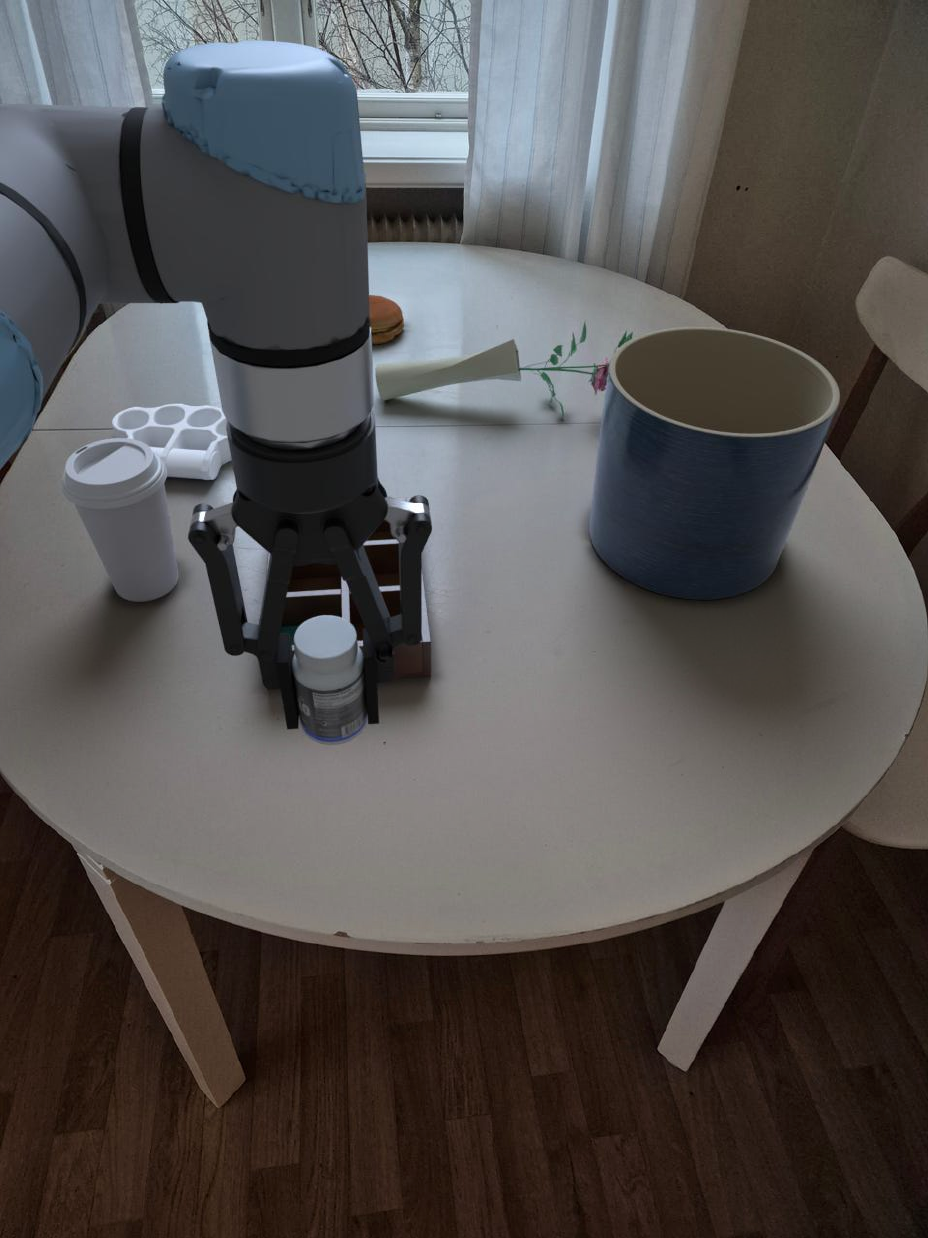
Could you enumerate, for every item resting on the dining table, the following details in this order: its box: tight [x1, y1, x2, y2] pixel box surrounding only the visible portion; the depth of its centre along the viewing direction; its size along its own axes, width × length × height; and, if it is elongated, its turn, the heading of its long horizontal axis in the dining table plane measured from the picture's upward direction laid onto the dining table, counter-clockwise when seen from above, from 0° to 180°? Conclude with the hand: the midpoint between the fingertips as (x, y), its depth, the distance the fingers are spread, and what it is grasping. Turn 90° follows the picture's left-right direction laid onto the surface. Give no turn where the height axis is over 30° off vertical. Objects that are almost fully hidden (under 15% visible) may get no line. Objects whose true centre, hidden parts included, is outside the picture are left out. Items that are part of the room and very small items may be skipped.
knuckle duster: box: [111, 402, 232, 481], centre depth 108 cm, size 3×18×15 cm
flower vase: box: [374, 321, 634, 421], centre depth 116 cm, size 12×12×35 cm
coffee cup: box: [61, 437, 180, 603], centre depth 86 cm, size 10×10×15 cm
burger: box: [369, 294, 405, 345], centre depth 133 cm, size 10×9×5 cm
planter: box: [588, 326, 841, 601], centre depth 91 cm, size 22×22×20 cm
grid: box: [265, 496, 432, 679], centre depth 88 cm, size 15×23×5 cm
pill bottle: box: [292, 615, 368, 746], centre depth 57 cm, size 5×5×8 cm
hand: (333, 710), depth 60 cm, fingers closed on pill bottle, 5 cm apart
